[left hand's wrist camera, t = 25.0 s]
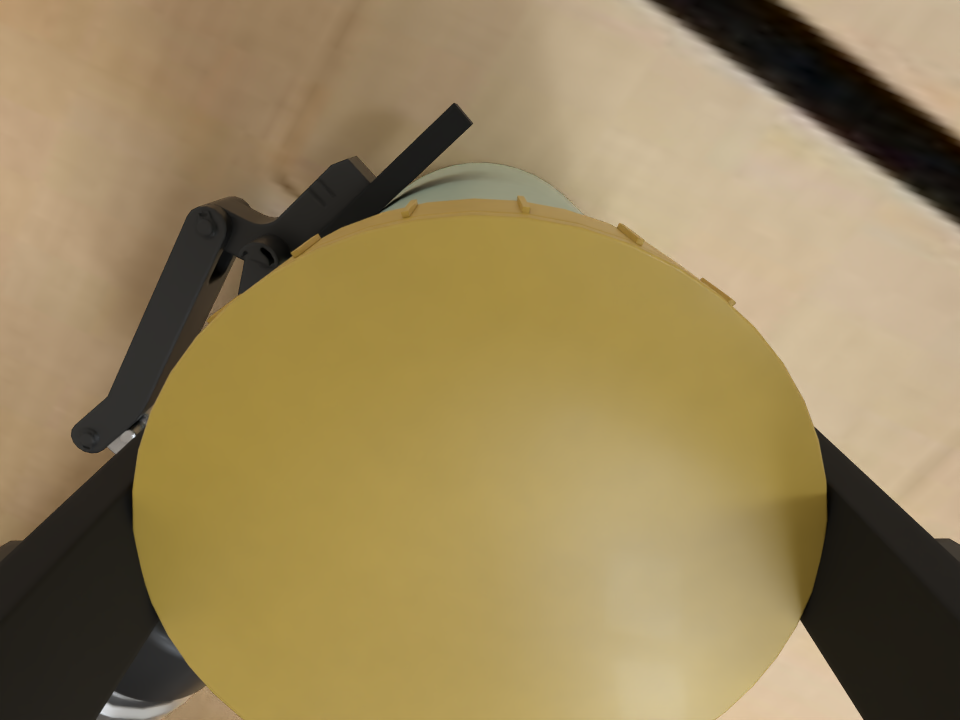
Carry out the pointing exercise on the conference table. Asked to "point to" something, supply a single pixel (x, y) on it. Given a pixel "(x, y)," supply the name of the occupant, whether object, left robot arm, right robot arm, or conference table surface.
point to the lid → (479, 480)
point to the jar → (480, 187)
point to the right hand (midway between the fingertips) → (578, 251)
